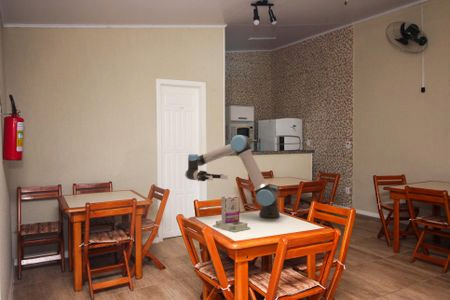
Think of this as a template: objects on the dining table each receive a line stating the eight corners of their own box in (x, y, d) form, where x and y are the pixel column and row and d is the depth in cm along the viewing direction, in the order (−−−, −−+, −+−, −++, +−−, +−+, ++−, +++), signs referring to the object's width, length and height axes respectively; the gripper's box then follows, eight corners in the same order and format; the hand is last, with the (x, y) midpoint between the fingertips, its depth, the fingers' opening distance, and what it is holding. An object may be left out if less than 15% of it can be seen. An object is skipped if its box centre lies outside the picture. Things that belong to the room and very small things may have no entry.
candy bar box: (234, 220, 229) (235, 195, 229) (239, 221, 225) (239, 196, 225) (220, 222, 223) (221, 196, 223) (225, 223, 219) (225, 197, 219)
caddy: (228, 223, 236) (228, 218, 236) (250, 228, 221) (250, 223, 221) (212, 226, 226) (212, 221, 226) (234, 232, 212) (234, 226, 211)
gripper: (213, 179, 265) (232, 182, 250) (186, 181, 249) (205, 184, 233) (214, 169, 265) (233, 171, 249) (187, 171, 249) (205, 173, 233)
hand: (219, 178), depth 241 cm, fingers open, 13 cm apart
